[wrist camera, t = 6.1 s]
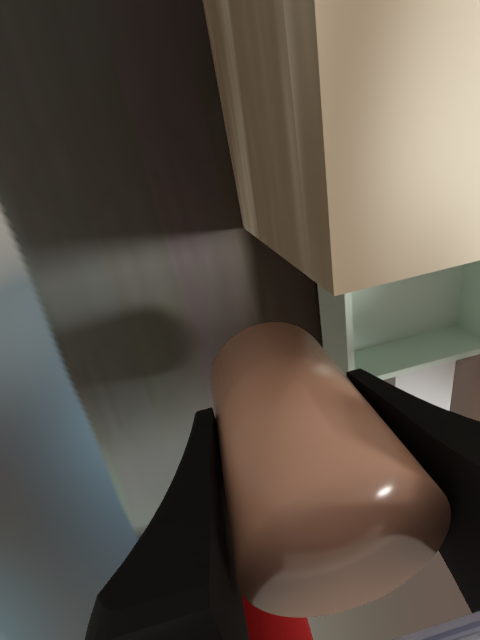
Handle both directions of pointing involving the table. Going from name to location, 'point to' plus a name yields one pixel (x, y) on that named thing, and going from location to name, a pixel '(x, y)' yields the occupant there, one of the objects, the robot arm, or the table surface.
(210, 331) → the table surface
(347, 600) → the pink-tan solid cylinder
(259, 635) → the beverage can
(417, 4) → the shelf
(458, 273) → the tray
